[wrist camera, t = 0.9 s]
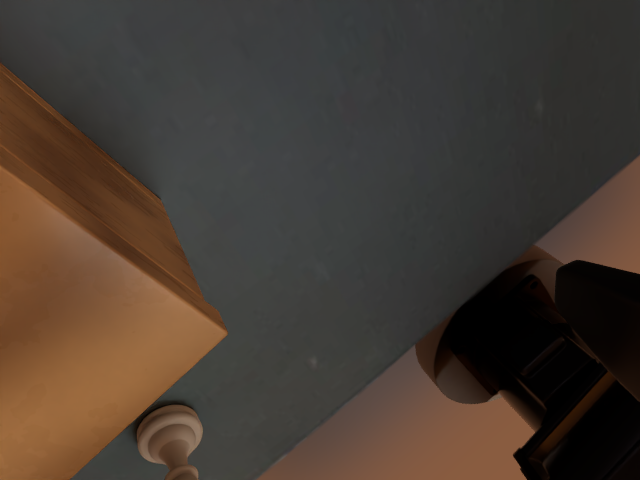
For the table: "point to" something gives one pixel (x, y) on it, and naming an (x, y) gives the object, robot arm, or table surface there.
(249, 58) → the table surface
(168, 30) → the table surface
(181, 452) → the pawn
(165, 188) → the table surface
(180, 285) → the shelf
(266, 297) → the table surface
